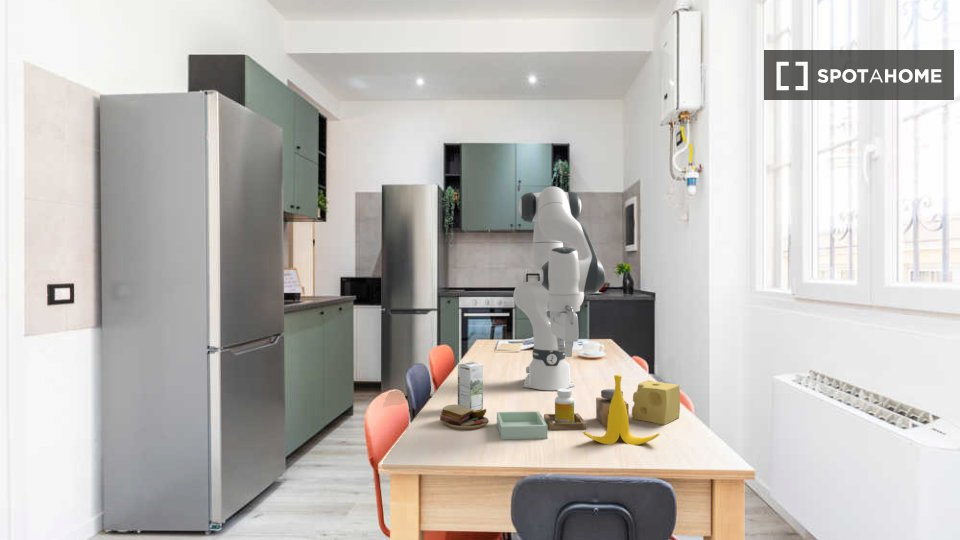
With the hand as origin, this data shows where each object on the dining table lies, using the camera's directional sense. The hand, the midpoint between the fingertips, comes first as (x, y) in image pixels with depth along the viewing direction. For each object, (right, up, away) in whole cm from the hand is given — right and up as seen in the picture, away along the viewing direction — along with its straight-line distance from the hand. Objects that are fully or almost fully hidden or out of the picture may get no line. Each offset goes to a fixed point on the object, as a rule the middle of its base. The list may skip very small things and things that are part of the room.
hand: (564, 354), depth 152 cm
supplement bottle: (0, -20, 0) cm, 20 cm away
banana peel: (+14, -20, -14) cm, 28 cm away
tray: (-13, -20, -5) cm, 24 cm away
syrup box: (-27, -20, +16) cm, 37 cm away
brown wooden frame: (0, -20, 0) cm, 20 cm away
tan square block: (+14, -20, +2) cm, 24 cm away
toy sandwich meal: (-28, -21, +1) cm, 35 cm away
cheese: (+28, -20, +6) cm, 35 cm away
